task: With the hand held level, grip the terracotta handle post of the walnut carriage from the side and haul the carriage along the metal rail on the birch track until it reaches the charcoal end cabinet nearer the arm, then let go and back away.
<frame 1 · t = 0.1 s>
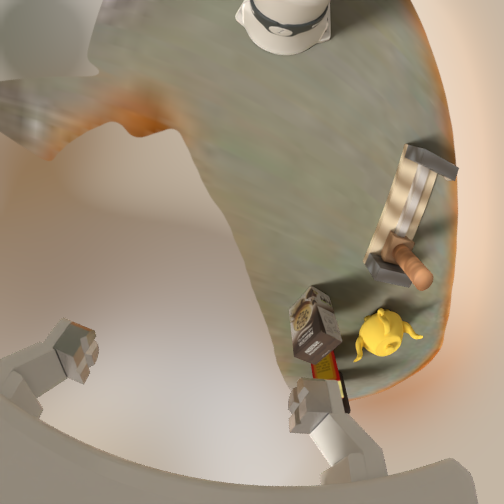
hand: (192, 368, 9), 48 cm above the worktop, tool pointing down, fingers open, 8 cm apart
bottle: (332, 376, 81), on the worktop
coffee box: (308, 302, 67), on the worktop
teapot: (377, 319, 70), on the worktop
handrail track: (402, 210, 55), on the worktop
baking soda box: (321, 349, 75), on the worktop
rail carriage: (407, 261, 50), point 10 cm above the worktop, slide at 8.0 cm
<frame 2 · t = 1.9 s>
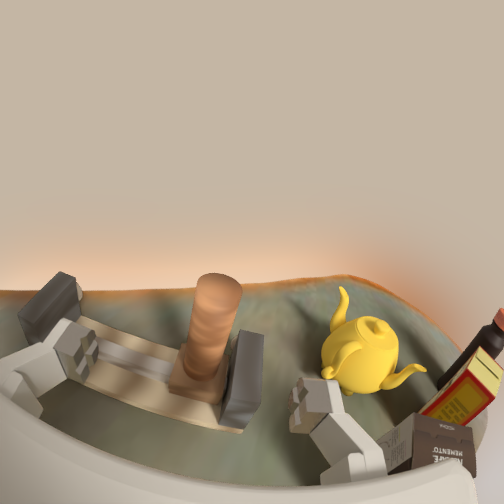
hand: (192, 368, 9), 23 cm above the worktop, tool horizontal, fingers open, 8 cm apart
bottle: (447, 390, 39), on the worktop
coffee box: (350, 498, 21), on the worktop
teapot: (344, 375, 40), on the worktop
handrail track: (137, 373, 31), on the worktop
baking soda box: (421, 431, 30), on the worktop
rail carriage: (205, 345, 27), point 10 cm above the worktop, slide at 8.0 cm
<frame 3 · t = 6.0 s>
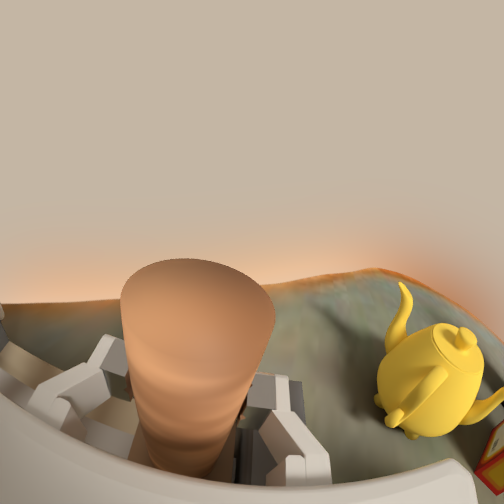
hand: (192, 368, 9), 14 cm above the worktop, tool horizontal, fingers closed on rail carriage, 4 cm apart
teapot: (404, 409, 23), on the worktop
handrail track: (84, 440, 14), on the worktop
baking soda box: (494, 461, 14), on the worktop
rail carriage: (184, 427, 10), point 10 cm above the worktop, slide at 8.0 cm, touching gripper
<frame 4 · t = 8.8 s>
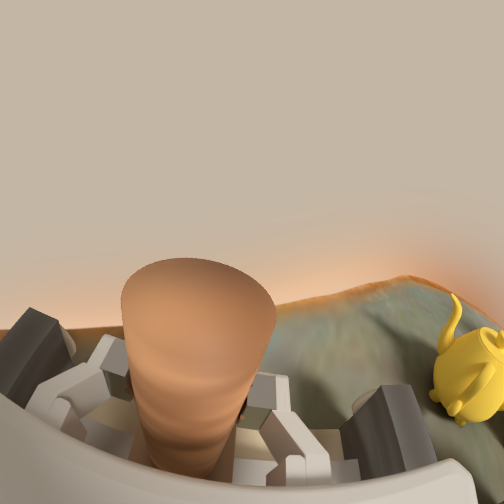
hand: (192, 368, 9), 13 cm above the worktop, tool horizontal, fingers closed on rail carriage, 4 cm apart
teapot: (451, 402, 24), on the worktop
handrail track: (198, 475, 15), on the worktop
rail carriage: (184, 427, 10), point 10 cm above the worktop, slide at -1.3 cm, touching gripper
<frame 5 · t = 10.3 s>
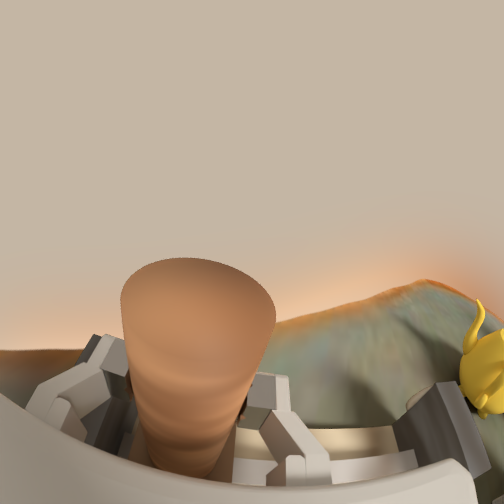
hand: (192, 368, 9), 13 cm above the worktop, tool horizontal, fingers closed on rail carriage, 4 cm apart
teapot: (473, 397, 25), on the worktop
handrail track: (276, 483, 15), on the worktop
rail carriage: (184, 427, 10), point 10 cm above the worktop, slide at -7.3 cm, touching gripper
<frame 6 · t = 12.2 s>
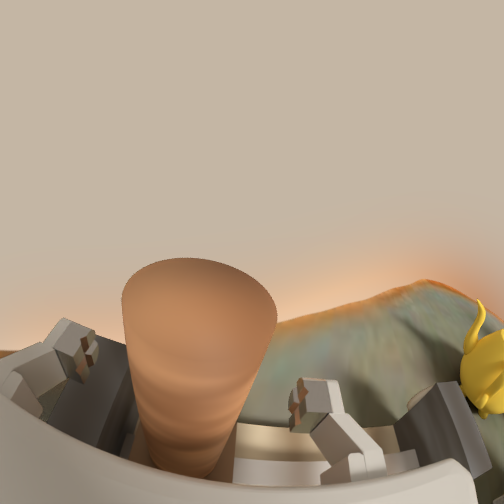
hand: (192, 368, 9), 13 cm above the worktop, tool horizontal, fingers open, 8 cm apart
teapot: (474, 397, 25), on the worktop
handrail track: (278, 483, 15), on the worktop
rail carriage: (185, 427, 10), point 10 cm above the worktop, slide at -7.4 cm
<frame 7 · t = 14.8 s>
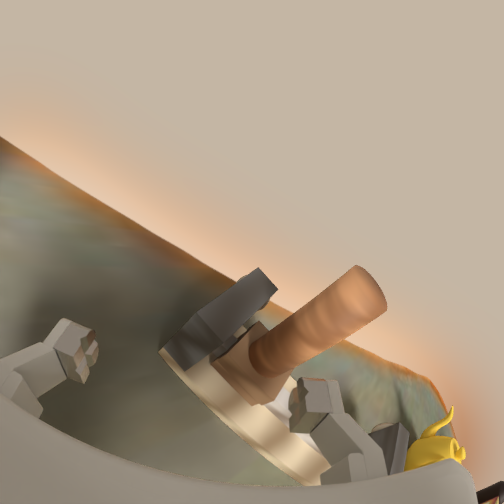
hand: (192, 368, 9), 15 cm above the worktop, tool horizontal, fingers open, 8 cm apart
teapot: (405, 474, 29), on the worktop
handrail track: (278, 420, 26), on the worktop
rail carriage: (296, 340, 22), point 10 cm above the worktop, slide at -7.4 cm
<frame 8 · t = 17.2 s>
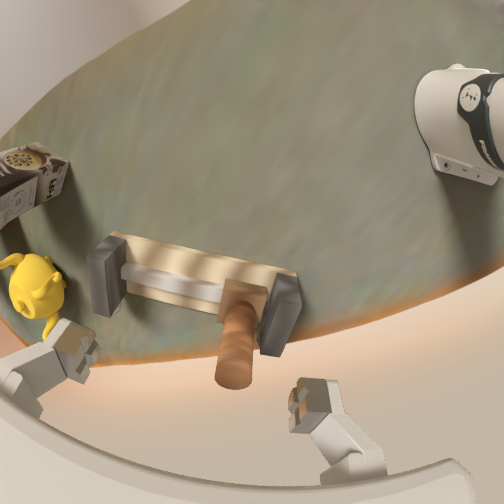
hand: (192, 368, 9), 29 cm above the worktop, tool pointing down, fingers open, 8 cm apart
coffee box: (49, 166, 34), on the worktop
teapot: (51, 273, 44), on the worktop
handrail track: (196, 278, 42), on the worktop
rail carriage: (238, 331, 34), point 10 cm above the worktop, slide at -7.4 cm
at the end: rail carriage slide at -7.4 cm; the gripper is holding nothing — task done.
